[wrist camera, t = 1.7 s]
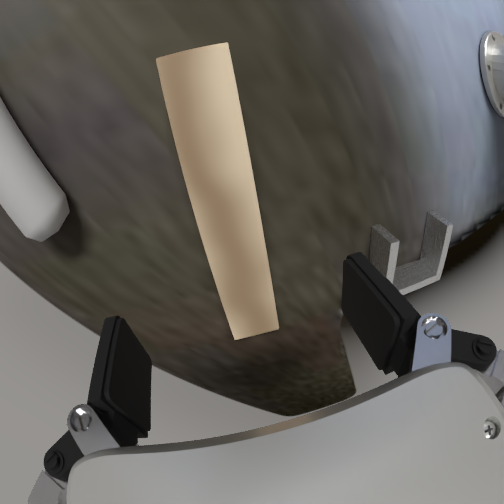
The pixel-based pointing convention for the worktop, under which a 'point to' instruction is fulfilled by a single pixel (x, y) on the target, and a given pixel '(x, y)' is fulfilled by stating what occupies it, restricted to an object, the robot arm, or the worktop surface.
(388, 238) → the cup bracket
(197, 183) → the maple rail
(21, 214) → the tube
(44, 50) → the worktop surface
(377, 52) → the worktop surface
